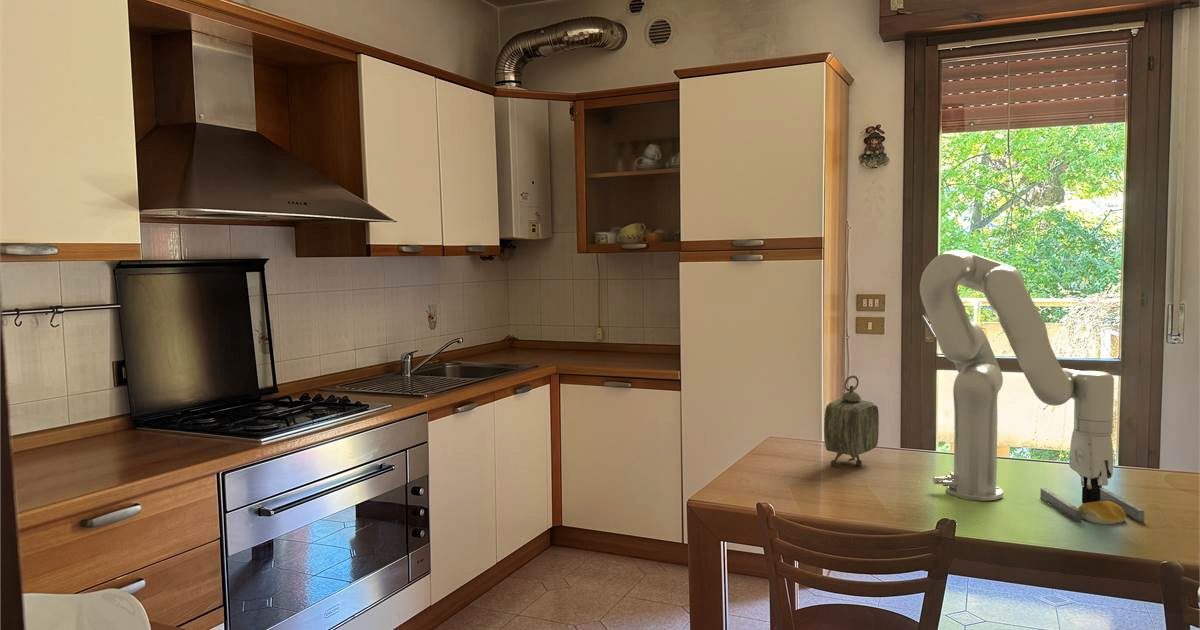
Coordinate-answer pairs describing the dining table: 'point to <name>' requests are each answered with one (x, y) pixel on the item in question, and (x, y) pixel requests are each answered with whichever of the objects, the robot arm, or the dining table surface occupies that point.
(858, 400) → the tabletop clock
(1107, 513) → the bread roll
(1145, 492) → the dining table surface
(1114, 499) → the chute
